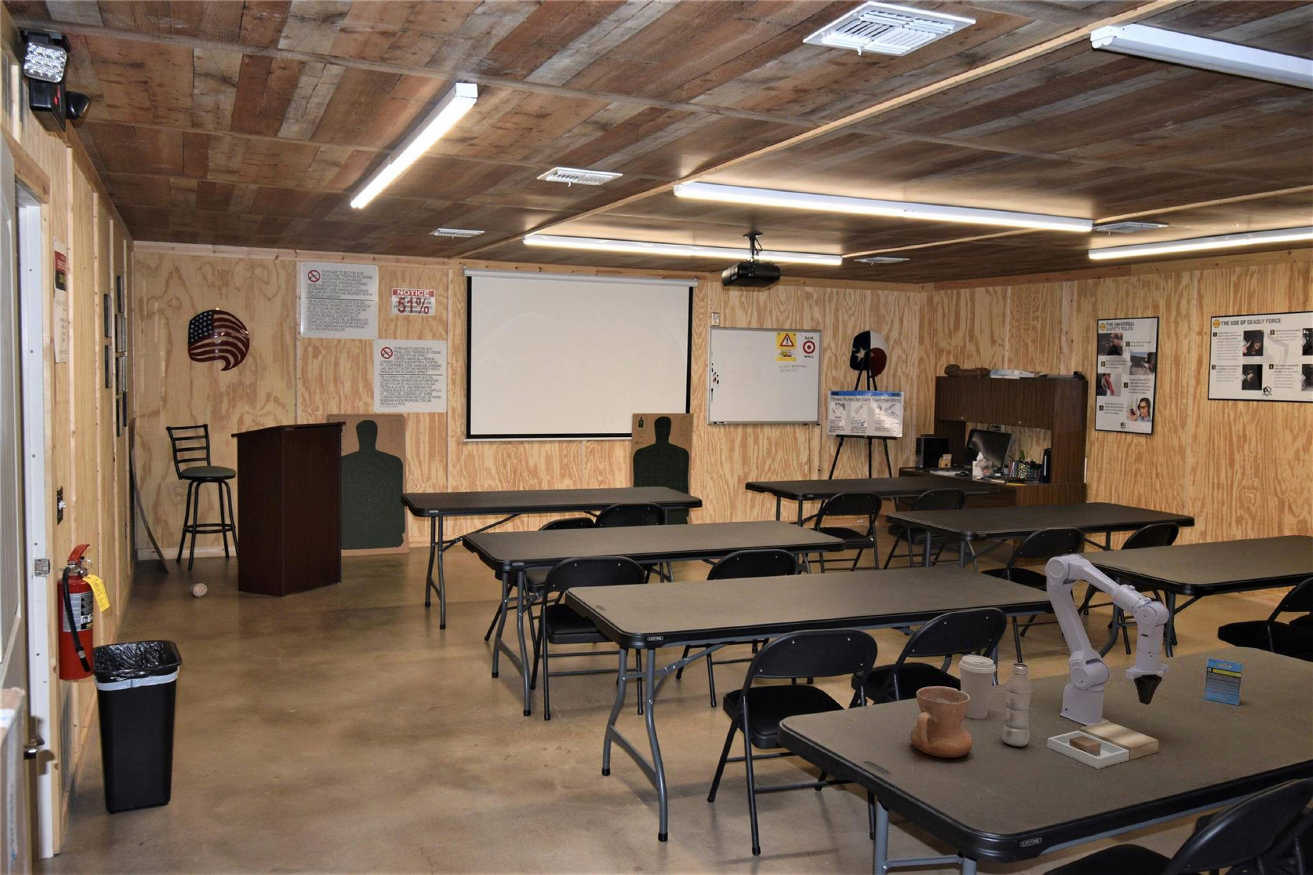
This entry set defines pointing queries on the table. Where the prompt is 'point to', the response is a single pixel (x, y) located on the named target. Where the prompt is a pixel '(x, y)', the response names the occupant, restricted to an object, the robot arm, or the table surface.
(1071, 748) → the box
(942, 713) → the ceramic jug
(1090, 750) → the brown block
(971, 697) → the coffee cup
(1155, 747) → the tan wooden flat block
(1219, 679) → the label tape box
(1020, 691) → the plastic bottle
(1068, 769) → the table surface
